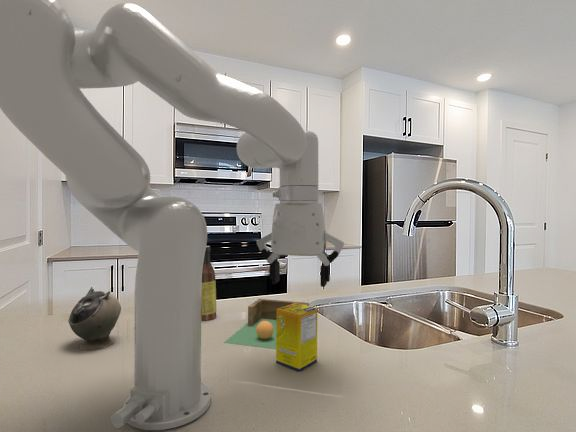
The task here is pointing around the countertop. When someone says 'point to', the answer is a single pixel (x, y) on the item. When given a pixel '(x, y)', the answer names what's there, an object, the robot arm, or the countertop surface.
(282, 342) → the supplement box
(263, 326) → the ball
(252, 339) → the pitch
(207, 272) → the sauce bottle
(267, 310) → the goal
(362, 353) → the countertop surface
